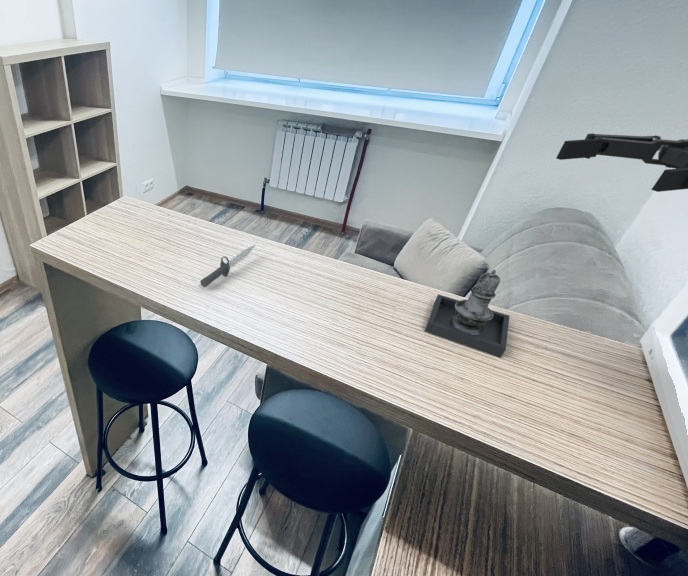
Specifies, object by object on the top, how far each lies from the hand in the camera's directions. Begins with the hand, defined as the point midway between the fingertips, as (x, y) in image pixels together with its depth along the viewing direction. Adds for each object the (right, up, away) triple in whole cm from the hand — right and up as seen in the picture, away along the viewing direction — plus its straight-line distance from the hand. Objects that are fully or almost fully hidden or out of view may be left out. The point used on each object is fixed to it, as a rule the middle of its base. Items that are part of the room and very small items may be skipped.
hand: (606, 164), depth 58 cm
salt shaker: (-9, -25, +16) cm, 31 cm away
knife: (-49, -14, +33) cm, 61 cm away
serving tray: (-9, -25, +16) cm, 31 cm away
